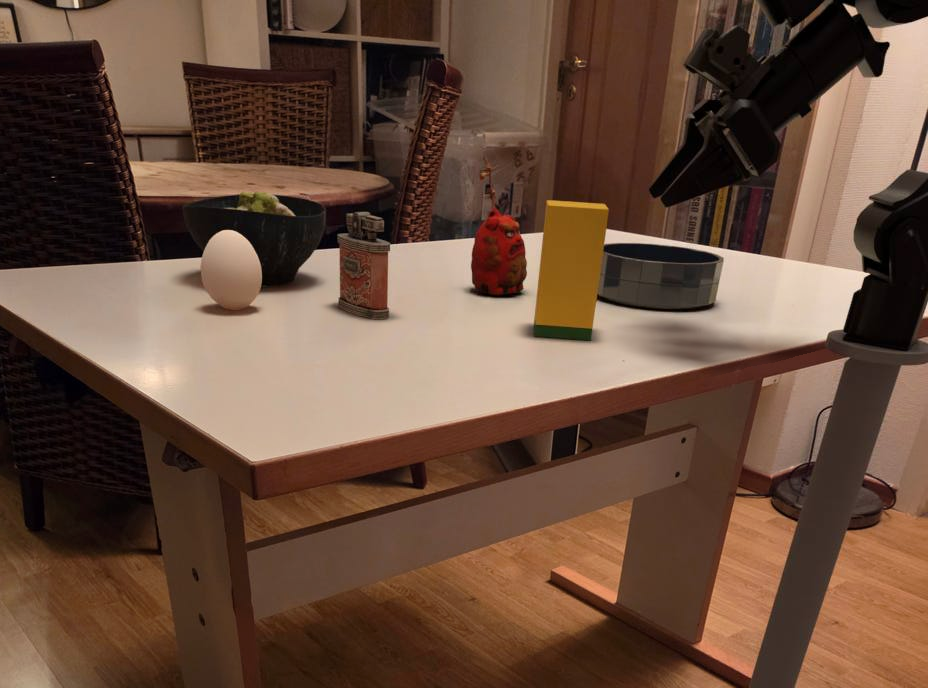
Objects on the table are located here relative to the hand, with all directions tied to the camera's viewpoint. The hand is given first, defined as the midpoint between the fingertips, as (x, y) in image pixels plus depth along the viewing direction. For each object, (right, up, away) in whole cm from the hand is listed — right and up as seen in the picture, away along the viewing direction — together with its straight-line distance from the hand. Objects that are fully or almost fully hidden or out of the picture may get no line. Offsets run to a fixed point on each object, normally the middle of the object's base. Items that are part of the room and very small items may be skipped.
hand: (656, 198), depth 86 cm
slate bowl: (+6, +1, +27) cm, 28 cm away
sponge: (-8, -11, +7) cm, 16 cm away
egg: (-44, -8, +9) cm, 46 cm away
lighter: (-30, -7, +11) cm, 33 cm away
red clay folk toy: (-15, +1, +25) cm, 29 cm away
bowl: (-45, +1, +23) cm, 50 cm away
